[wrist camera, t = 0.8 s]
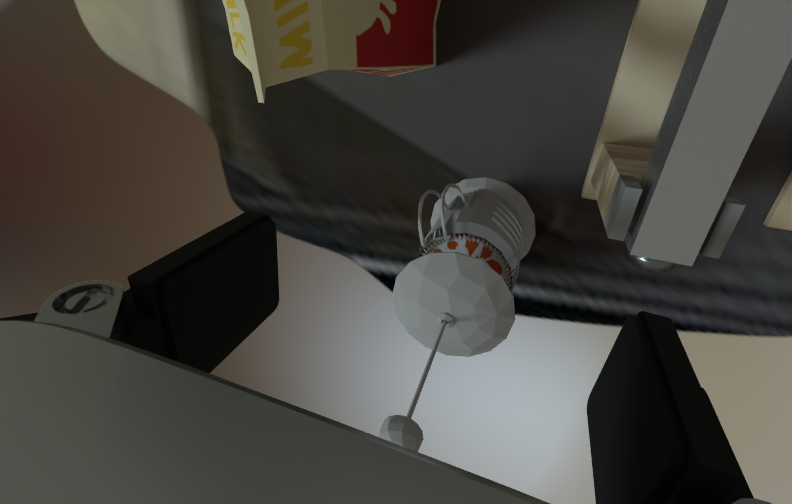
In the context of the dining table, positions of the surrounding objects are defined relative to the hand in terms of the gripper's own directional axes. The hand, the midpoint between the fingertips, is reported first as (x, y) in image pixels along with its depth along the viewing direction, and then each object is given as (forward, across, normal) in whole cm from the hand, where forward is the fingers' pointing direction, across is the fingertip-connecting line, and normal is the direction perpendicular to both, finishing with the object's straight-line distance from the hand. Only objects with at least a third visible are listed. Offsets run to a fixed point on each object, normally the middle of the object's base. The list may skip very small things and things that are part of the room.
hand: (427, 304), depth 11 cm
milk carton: (+27, +12, -7) cm, 31 cm away
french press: (+27, +1, +9) cm, 29 cm away
